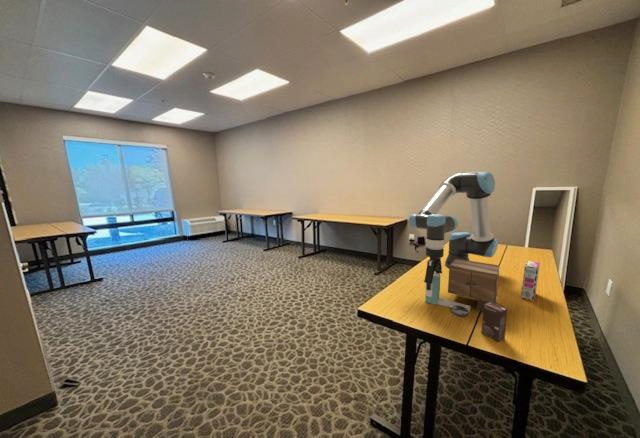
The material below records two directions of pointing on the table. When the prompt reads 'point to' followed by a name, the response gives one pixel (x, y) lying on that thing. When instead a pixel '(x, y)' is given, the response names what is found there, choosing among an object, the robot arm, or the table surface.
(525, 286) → the candy bar box
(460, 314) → the disc
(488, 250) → the robot arm
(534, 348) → the table surface
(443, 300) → the tool
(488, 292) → the wooden cabinet
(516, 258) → the table surface
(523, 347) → the table surface
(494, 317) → the box
